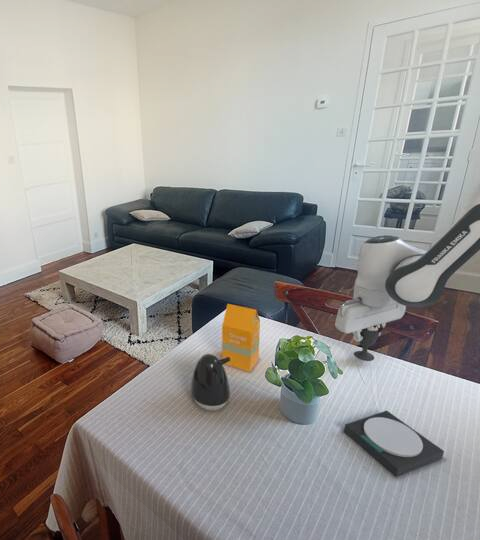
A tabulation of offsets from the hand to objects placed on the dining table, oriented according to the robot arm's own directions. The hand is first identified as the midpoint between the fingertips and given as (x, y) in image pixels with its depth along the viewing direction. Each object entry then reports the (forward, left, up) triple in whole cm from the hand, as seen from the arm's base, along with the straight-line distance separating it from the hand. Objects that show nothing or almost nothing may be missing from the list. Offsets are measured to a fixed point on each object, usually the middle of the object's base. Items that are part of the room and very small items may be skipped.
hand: (366, 337), depth 96 cm
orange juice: (+31, -14, -9) cm, 36 cm away
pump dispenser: (+48, -2, -9) cm, 49 cm away
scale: (+19, +24, -9) cm, 32 cm away
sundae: (0, 0, -6) cm, 6 cm away
